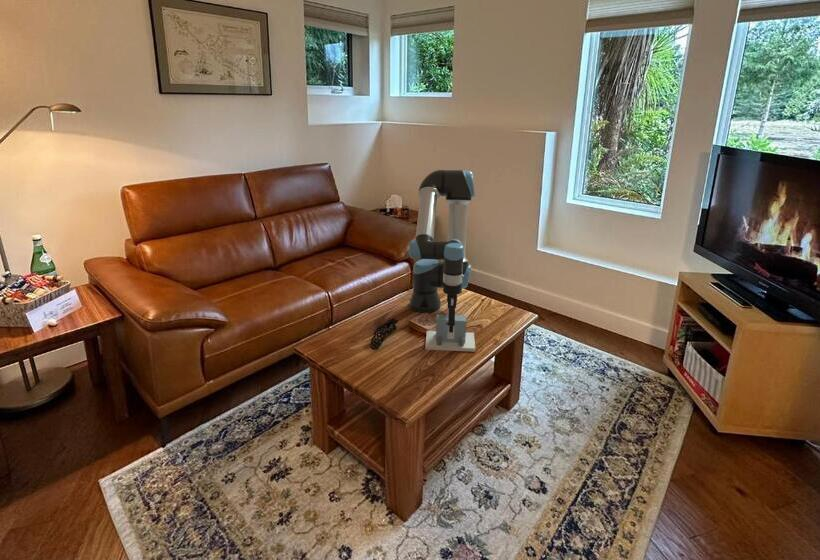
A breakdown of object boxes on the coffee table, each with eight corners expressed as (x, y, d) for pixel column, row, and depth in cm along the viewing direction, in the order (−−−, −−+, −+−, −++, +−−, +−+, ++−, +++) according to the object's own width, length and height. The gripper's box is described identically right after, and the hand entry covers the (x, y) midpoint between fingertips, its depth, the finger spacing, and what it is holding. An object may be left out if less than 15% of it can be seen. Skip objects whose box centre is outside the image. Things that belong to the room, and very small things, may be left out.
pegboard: (425, 349, 188) (425, 339, 186) (426, 333, 200) (427, 324, 198) (475, 351, 187) (475, 341, 185) (473, 335, 198) (474, 326, 197)
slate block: (435, 341, 191) (436, 319, 187) (436, 335, 195) (436, 314, 192) (465, 342, 190) (466, 321, 186) (464, 336, 195) (466, 315, 191)
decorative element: (379, 351, 187) (379, 339, 184) (368, 349, 188) (367, 336, 186) (399, 327, 206) (399, 315, 204) (389, 325, 208) (389, 313, 206)
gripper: (463, 295, 171) (460, 346, 179) (461, 271, 194) (459, 316, 202) (442, 295, 172) (440, 345, 180) (443, 270, 195) (441, 316, 203)
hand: (450, 330), depth 191 cm, fingers open, 13 cm apart
